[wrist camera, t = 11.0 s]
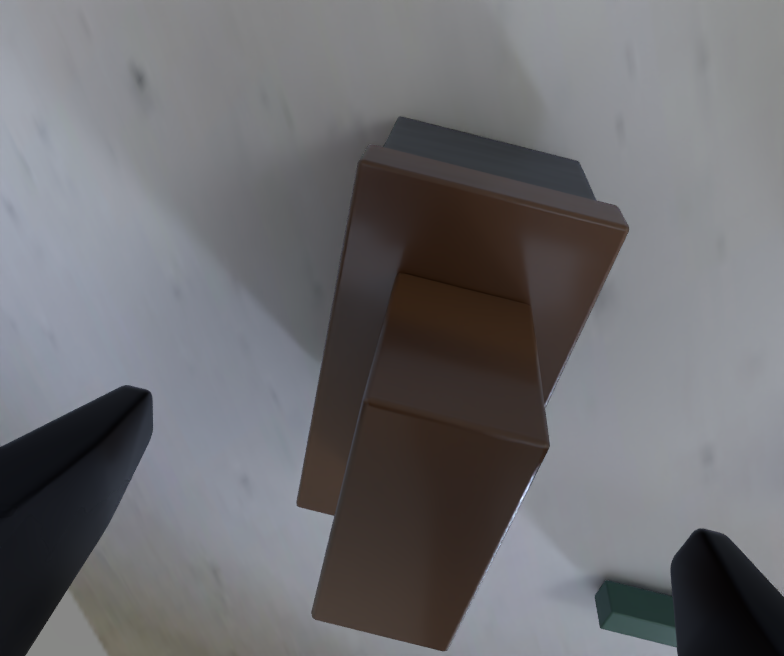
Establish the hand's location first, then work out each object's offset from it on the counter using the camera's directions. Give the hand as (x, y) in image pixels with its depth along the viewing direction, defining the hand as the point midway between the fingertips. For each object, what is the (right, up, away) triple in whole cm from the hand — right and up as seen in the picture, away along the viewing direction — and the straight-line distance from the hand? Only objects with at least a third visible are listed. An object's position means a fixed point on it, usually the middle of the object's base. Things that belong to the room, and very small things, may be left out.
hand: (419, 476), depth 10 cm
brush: (+1, +3, +5) cm, 6 cm away
